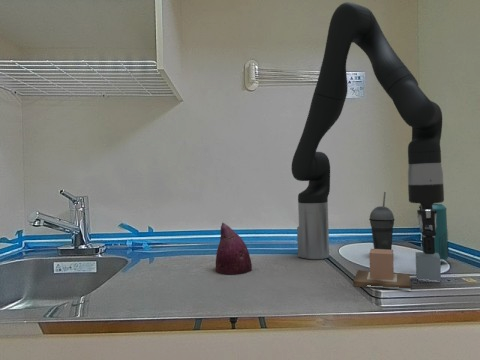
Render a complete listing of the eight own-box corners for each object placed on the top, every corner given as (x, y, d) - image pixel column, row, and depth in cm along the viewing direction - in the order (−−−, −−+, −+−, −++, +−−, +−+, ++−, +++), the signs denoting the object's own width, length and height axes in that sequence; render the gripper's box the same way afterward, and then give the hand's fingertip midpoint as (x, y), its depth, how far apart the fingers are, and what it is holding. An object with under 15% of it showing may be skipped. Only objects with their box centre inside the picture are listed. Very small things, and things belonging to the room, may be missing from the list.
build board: (353, 286, 83) (353, 280, 83) (358, 274, 92) (358, 269, 92) (410, 291, 78) (410, 285, 78) (409, 278, 87) (409, 273, 87)
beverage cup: (376, 253, 115) (374, 191, 115) (399, 256, 110) (397, 191, 109) (366, 257, 110) (364, 192, 110) (389, 260, 105) (387, 192, 104)
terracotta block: (370, 278, 83) (369, 252, 83) (371, 272, 88) (370, 248, 88) (393, 280, 81) (392, 254, 81) (393, 274, 86) (393, 249, 86)
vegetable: (212, 284, 98) (195, 233, 97) (226, 270, 108) (210, 223, 107) (247, 278, 94) (229, 224, 93) (258, 263, 104) (242, 214, 103)
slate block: (416, 281, 85) (416, 256, 85) (416, 275, 89) (415, 251, 89) (440, 283, 83) (440, 257, 83) (438, 277, 87) (438, 253, 87)
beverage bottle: (452, 265, 97) (450, 192, 97) (426, 265, 99) (424, 192, 98) (444, 259, 104) (442, 191, 104) (419, 259, 105) (417, 191, 105)
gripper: (446, 182, 78) (449, 257, 78) (440, 181, 90) (443, 245, 90) (408, 184, 81) (411, 255, 81) (407, 182, 94) (410, 244, 94)
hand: (428, 250), depth 86 cm, fingers open, 8 cm apart
